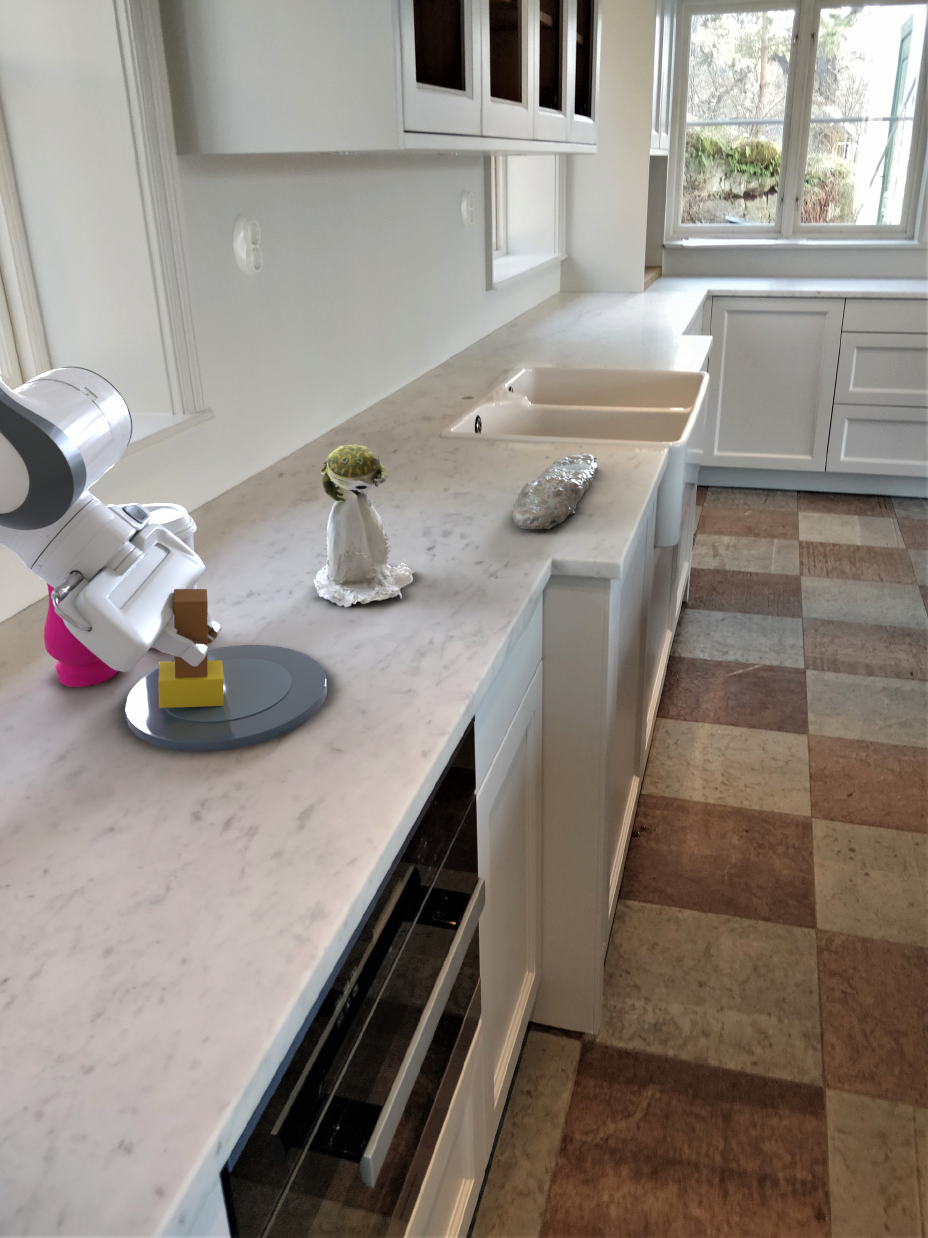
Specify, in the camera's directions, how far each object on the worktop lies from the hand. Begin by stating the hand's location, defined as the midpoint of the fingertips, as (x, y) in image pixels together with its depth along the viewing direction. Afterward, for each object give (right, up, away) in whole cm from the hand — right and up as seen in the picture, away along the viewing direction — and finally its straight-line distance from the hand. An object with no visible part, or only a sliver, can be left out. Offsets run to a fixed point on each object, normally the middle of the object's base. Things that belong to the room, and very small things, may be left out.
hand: (209, 647), depth 93 cm
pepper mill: (-16, -3, +11) cm, 20 cm away
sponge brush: (-2, -5, +2) cm, 6 cm away
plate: (+1, -5, +5) cm, 7 cm away
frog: (+12, +7, +30) cm, 33 cm away
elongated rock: (+40, +22, +60) cm, 75 cm away
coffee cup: (-9, 0, +19) cm, 21 cm away
